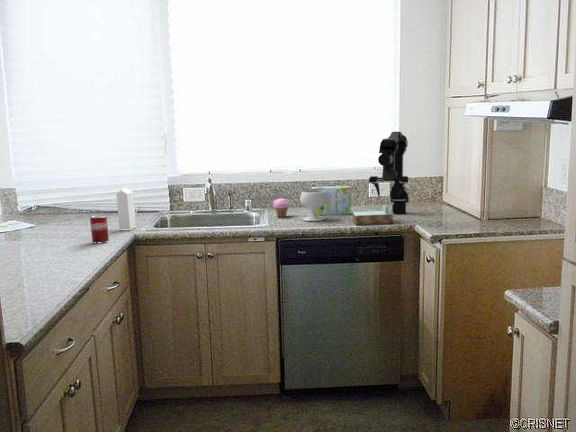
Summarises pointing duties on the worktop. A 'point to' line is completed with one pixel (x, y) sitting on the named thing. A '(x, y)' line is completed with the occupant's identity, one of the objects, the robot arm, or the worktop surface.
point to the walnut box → (373, 219)
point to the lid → (373, 212)
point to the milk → (126, 208)
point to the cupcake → (281, 207)
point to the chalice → (313, 202)
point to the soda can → (99, 228)
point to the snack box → (335, 200)
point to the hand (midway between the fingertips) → (388, 197)
